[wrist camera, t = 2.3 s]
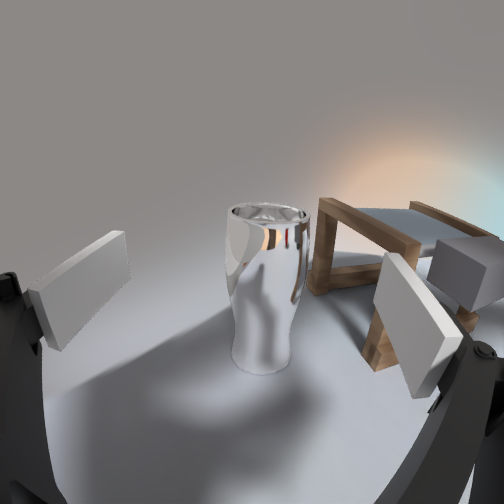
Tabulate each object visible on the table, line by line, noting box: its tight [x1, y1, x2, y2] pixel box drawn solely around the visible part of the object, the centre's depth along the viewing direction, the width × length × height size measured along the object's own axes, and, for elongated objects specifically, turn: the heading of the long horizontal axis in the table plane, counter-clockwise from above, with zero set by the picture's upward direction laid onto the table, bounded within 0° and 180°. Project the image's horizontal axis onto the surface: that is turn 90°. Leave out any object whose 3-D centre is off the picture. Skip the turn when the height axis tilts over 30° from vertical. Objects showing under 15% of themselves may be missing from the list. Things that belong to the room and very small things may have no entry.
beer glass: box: [225, 202, 310, 375], centre depth 25 cm, size 7×7×15 cm
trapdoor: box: [355, 208, 504, 313], centre depth 28 cm, size 14×22×4 cm, turn 13°
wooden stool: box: [307, 198, 499, 372], centre depth 33 cm, size 19×19×14 cm
